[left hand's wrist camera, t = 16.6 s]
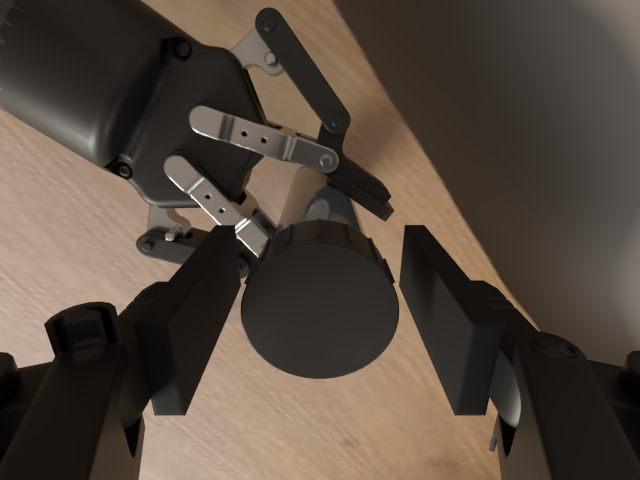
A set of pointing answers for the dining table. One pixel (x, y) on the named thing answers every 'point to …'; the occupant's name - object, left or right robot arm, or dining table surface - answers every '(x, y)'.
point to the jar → (317, 202)
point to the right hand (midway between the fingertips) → (360, 243)
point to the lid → (319, 300)
